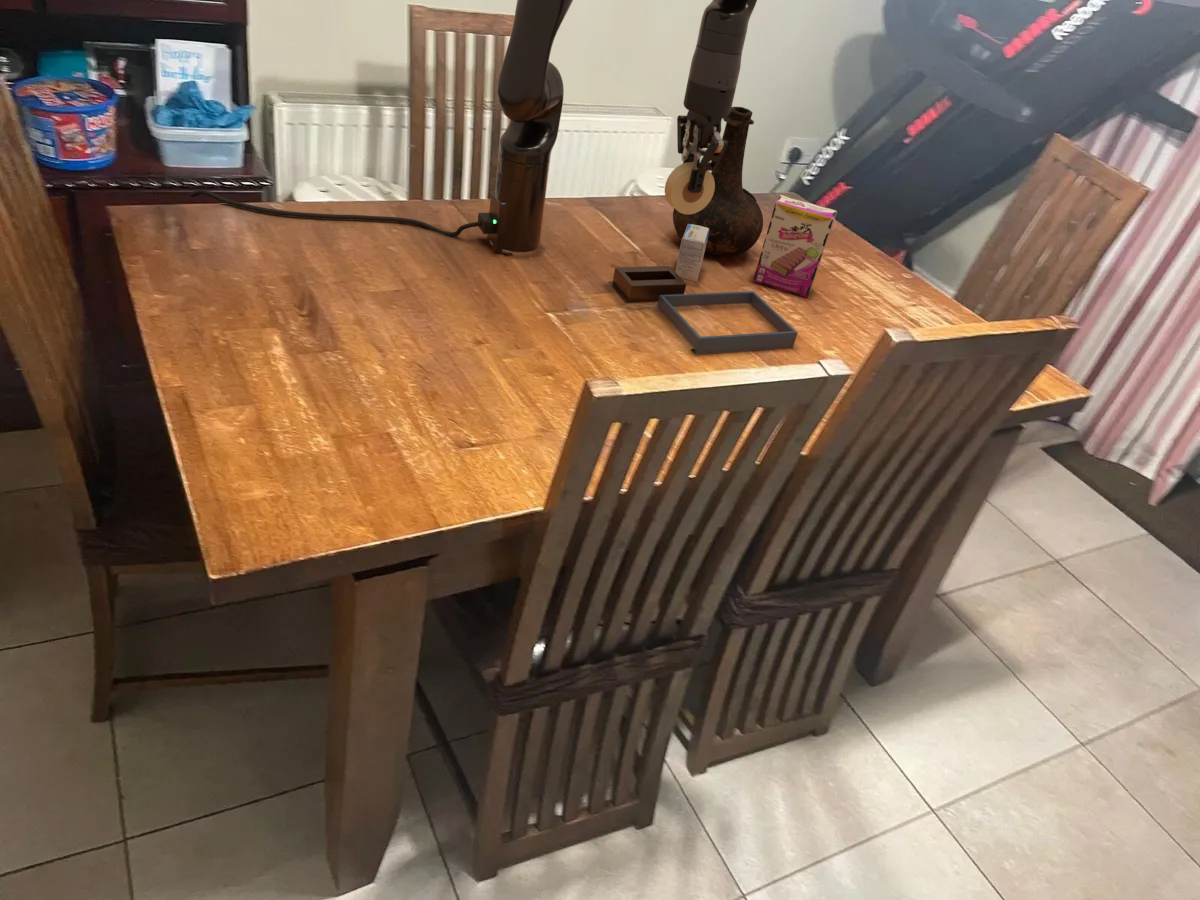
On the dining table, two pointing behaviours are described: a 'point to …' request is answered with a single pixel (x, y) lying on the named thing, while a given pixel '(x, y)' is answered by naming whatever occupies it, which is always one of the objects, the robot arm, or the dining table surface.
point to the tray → (728, 341)
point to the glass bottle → (728, 198)
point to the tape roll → (679, 190)
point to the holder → (646, 283)
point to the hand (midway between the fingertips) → (690, 187)
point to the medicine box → (692, 252)
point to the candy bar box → (794, 245)
